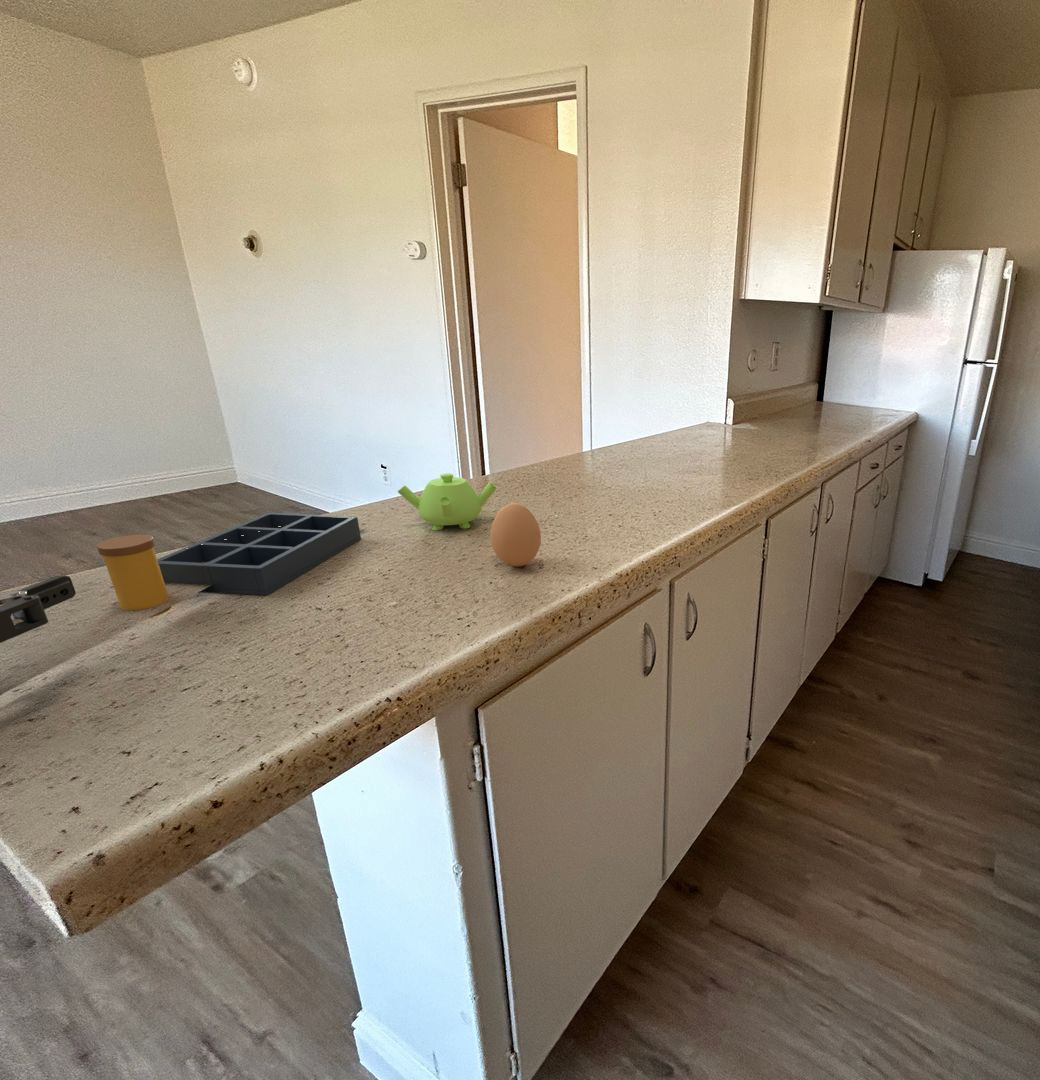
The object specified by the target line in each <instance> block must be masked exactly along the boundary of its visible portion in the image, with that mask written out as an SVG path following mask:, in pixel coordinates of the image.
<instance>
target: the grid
mask: <svg viewBox="0 0 1040 1080" xmlns="http://www.w3.org/2000/svg"><path fill="white" fill-rule="evenodd" d="M278 526H281V527H278ZM258 531H260V532H258ZM241 535H244V536H241ZM224 539H227V540H224ZM358 540H359V541H360V540H362V536H361V529H360V524H359V519H358V516H347V515H330V514H329V515H327V514H313V513H312V514H311V513H310V514H309V513H291V512H290V513H289V512H288V513H287V512H265V513H264V514H262V515H258V516H257V517H255V518H252V519H250V520H247V521H245V522H243V523H240V524H238V525H235V526H233V527H231V528H228V529H226V530H224V531H221V532H219V533H216V534H214V535H211V536H209V537H207V538H204V539H202V540H200V541H197V542H195V543H192V544H190V545H188V546H185V547H183V548H181V549H178V550H176V551H173V552H171V553H169V554H167V555H164V556H162V557H160V558H157V561H158V564H159V567H160V570H161V574H162V577H163V580H164V583H177V584H179V583H181V584H199V585H209V586H207V587H205V588H203V589H201V590H200V591H198V593H211V594H231V595H250V596H251V595H252V596H255V595H256V596H268V595H270V594H272V593H273V592H275V591H277V590H278V589H280V588H282V587H284V586H285V585H287V584H288V583H291V581H294V580H295V579H297V578H299V577H300V576H302V575H304V574H305V573H307V572H309V571H310V570H312V569H313V568H316V567H317V566H319V565H320V564H322V563H324V562H325V561H326V559H327V560H328V559H330V558H332V557H333V556H335V555H337V554H339V553H340V552H342V551H343V549H344V550H345V549H347V548H349V547H351V546H352V545H354V544H355V543H357V542H359V541H358ZM356 541H357V542H356ZM353 543H354V544H353ZM201 544H203V545H201ZM348 546H349V547H348ZM346 547H347V548H346ZM186 548H188V549H186ZM331 556H332V557H331ZM329 557H330V558H329ZM324 560H325V561H324ZM321 562H322V563H321ZM319 563H320V564H319ZM316 565H317V566H316Z"/></svg>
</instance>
